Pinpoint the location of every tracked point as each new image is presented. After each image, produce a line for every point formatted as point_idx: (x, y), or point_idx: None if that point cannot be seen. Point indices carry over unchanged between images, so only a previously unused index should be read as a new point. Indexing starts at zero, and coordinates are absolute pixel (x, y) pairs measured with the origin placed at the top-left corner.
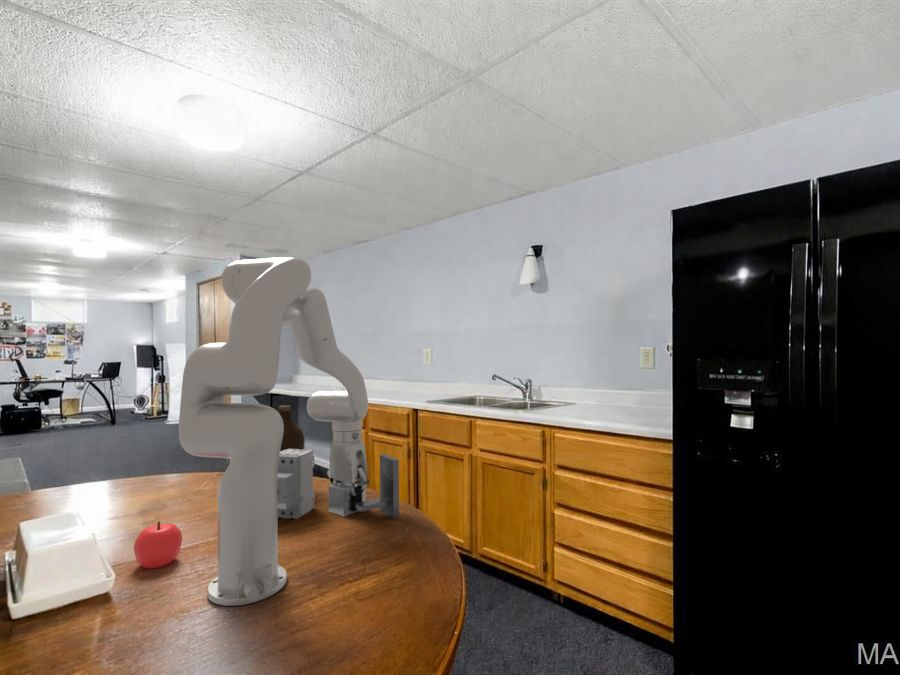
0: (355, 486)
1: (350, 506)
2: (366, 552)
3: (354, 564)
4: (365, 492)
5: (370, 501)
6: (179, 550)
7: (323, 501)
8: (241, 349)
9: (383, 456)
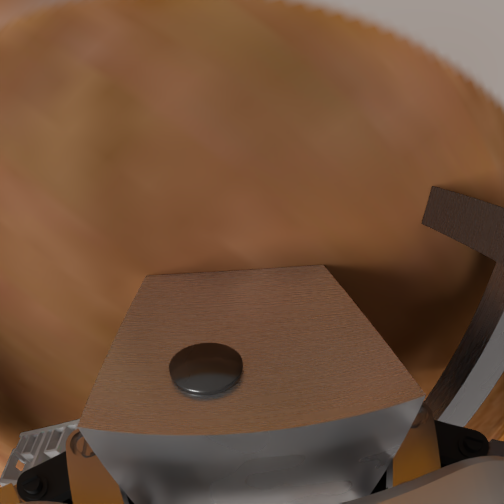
0: (374, 479)
1: None
2: (496, 413)
3: (488, 436)
4: (377, 333)
5: (481, 373)
6: None
7: (17, 346)
8: None
9: None
